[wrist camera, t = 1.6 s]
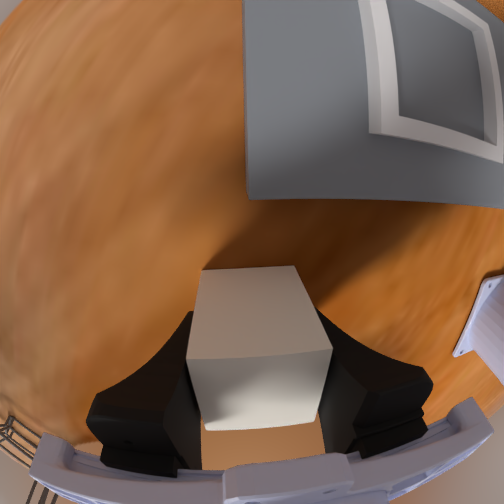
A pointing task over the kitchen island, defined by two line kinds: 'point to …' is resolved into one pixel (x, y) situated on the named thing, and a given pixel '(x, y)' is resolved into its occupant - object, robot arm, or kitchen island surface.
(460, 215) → the kitchen island surface
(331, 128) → the display plinth
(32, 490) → the geometric lantern
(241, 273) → the cream block
